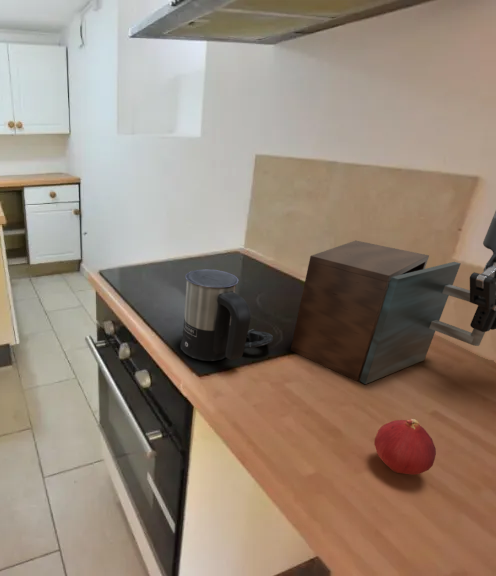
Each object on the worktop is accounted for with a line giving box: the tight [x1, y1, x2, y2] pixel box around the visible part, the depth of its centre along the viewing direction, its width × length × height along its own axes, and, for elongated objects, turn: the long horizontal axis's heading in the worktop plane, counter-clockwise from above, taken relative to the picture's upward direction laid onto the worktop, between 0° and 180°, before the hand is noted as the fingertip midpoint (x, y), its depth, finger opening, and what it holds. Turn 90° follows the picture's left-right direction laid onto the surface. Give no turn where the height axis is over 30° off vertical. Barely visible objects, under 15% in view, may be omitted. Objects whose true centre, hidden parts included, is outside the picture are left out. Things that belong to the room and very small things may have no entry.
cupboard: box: [290, 240, 430, 382], centre depth 69 cm, size 12×17×19 cm
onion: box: [373, 418, 437, 475], centre depth 45 cm, size 6×6×8 cm
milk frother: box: [179, 268, 274, 362], centre depth 71 cm, size 14×16×15 cm
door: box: [359, 261, 496, 385], centre depth 60 cm, size 8×17×19 cm, turn 115°
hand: (483, 327), depth 59 cm, fingers closed
